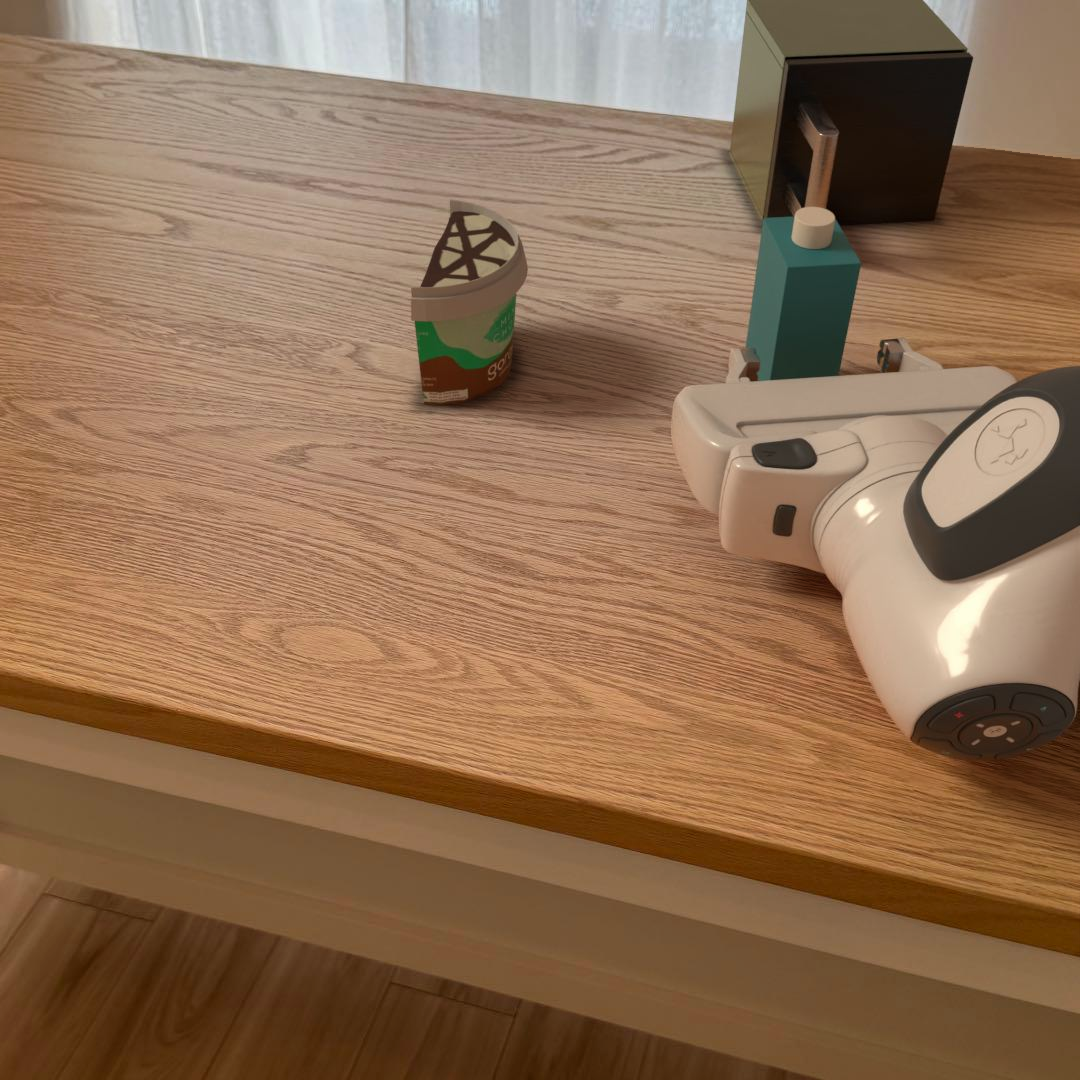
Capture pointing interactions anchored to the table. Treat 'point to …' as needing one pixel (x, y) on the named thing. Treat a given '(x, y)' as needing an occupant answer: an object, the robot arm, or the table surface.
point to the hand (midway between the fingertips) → (815, 352)
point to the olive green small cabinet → (812, 33)
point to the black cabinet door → (866, 136)
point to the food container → (468, 306)
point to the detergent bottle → (802, 296)
